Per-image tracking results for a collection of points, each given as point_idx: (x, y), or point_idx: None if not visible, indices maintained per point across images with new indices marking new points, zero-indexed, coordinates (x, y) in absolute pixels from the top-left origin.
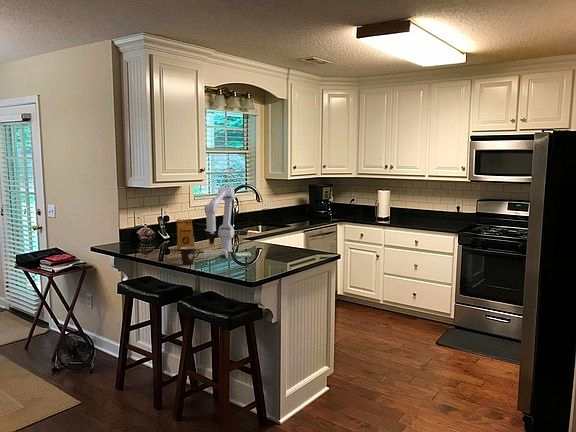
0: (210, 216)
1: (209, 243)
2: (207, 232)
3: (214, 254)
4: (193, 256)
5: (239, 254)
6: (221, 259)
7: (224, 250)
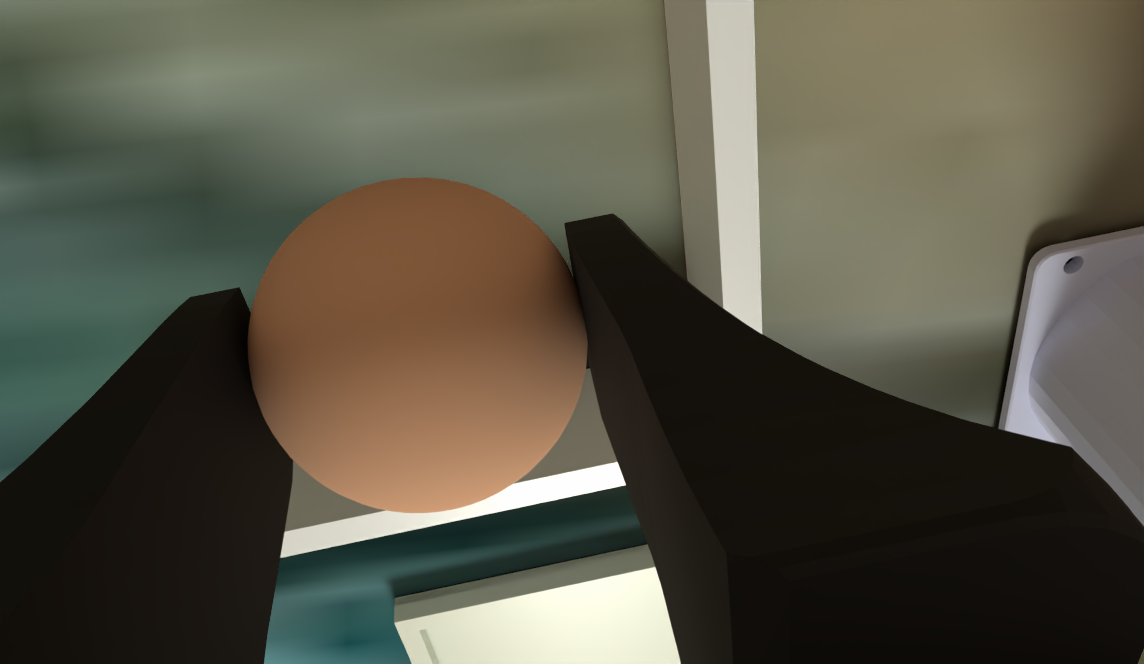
0: None
1: (276, 253)
2: (978, 601)
3: (681, 123)
4: None
5: (606, 608)
6: (58, 355)
7: None
